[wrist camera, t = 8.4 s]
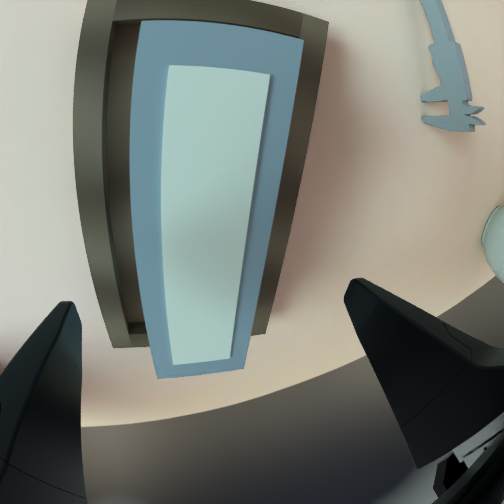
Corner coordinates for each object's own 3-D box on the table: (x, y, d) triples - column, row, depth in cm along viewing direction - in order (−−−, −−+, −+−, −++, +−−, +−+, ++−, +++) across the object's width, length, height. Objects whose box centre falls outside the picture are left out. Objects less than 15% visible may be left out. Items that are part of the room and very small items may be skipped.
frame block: (249, 56, 11) (306, 39, 7) (220, 300, 20) (244, 370, 15) (150, 49, 10) (141, 19, 5) (151, 305, 18) (157, 380, 13)
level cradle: (256, 314, 23) (265, 333, 22) (114, 326, 20) (113, 348, 18) (309, 27, 12) (328, 22, 10) (97, 10, 8) (87, -1, 6)
